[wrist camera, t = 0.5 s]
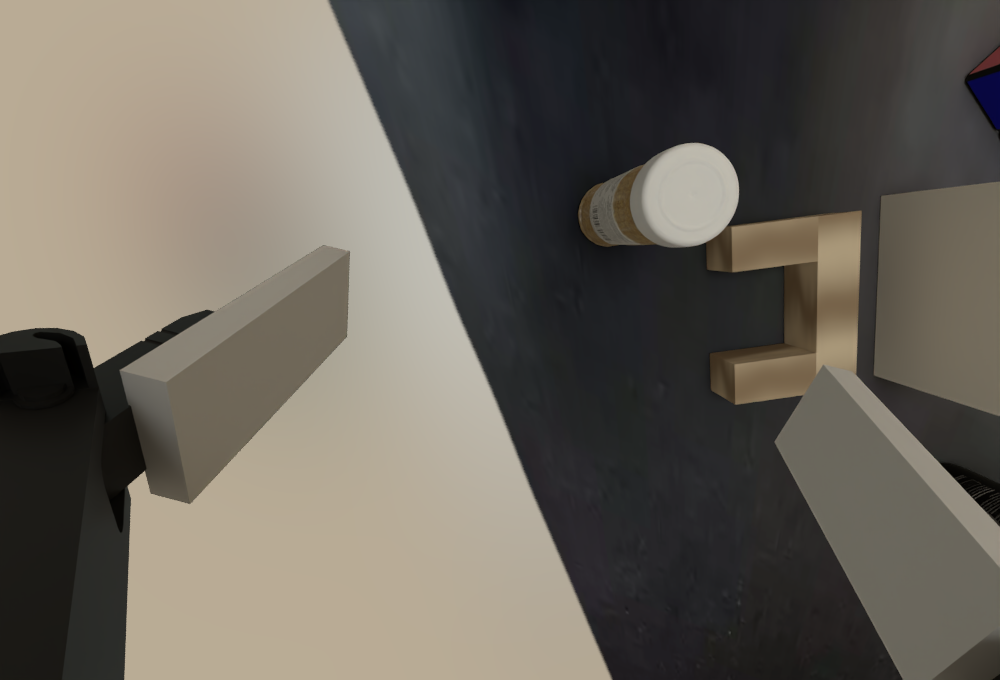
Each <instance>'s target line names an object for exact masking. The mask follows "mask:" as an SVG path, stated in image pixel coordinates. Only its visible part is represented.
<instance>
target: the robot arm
mask: <svg viewBox="0 0 1000 680" xmlns="http://www.w3.org/2000/svg"><path fill="white" fill-rule="evenodd" d="M349 257H350V252H349V251H345V250H342V249H338V248H333V247H329V246H325V245H323V246H321V247H319V248H318V249H316V250H315V251H313V252H311V253H310V254H308V255H306V256H305V257H303V258H302V259H300V260H298V261H297V262H295V263H294V264H292V265H290V266H289V267H287V268H285V269H284V270H282V271H281V272H279V273H277V274H275V275H274V276H272V277H271V278H269V279H267V280H266V281H264V282H262V283H261V284H259V285H258V286H256V287H254V288H253V289H251V290H249V291H248V292H246V293H245V294H243V295H241V296H240V297H238V298H236V299H235V300H233V301H232V302H230V303H228V304H227V305H225V306H223V307H222V308H220V309H219V310H217V311H215V312H214V311H210V310H205V311H202V312H199V313H195V314H192V315H188V316H185V317H182V318H180V319H178V320H176V321H175V322H173V323H171V324H169V325H168V326H166V327H164V328H163V329H162V331H161V332H159V331H157V332H156V333H154V334H152V335H150V336H149V337H147V338H145V341H140V342H138V343H137V344H135V345H133V346H131V347H130V348H128V349H126V350H124V351H123V352H121V353H119V354H117V355H116V356H115V357H112V358H111V359H109V360H107V361H106V362H104V363H102V364H100V365H98V366H97V367H95V368H93V365H92V361H91V358H90V354H89V351H88V348H87V344H86V341H85V338H84V336H82V335H80V334H77V333H76V332H74V331H70V330H65V329H59V328H35V329H28V330H21V331H15V332H11V333H7V334H3V335H0V680H124V670H125V641H126V614H127V588H128V587H127V586H128V561H129V532H130V506H131V498H130V494H129V491H128V487H127V486H128V485H129V484H130V483H131V482H132V481H133V480H134V479H136V478H137V477H138V476H139V475H140V474H142V473H143V472H144V471H145V472H146V477H147V481H148V484H149V488H150V492H151V494H155V495H158V496H162V497H166V498H170V499H174V500H178V501H181V502H185V503H189V504H190V503H191V502H192V501H193V500H194V499H195V498H196V497H197V496H198V495H199V494H200V493H201V492H202V491H203V489H204V488H205V487H206V486H207V485H208V484H209V483H210V482H211V481H212V480H213V479H214V478H215V477H216V476H217V475H218V474H219V473H220V471H221V470H222V469H223V468H224V467H225V466H226V465H227V464H228V463H229V462H230V461H231V459H233V457H234V456H235V455H236V454H237V453H238V452H239V451H240V450H241V449H242V448H243V447H244V446H245V445H246V444H247V443H248V442H249V441H250V439H251V438H252V437H253V436H254V435H255V434H256V433H257V432H258V431H259V430H260V429H261V428H262V427H263V426H264V424H265V423H266V422H267V421H268V420H269V419H270V418H271V417H272V416H273V415H274V414H275V413H276V412H277V411H278V409H279V408H280V407H281V406H282V405H283V404H284V403H285V402H286V401H287V400H288V399H289V398H290V397H291V396H292V395H293V394H294V393H295V391H296V390H297V389H298V388H299V387H300V386H301V385H302V384H303V383H304V382H305V381H306V380H307V379H308V378H309V376H310V375H311V374H312V373H313V372H314V371H315V370H316V369H317V368H318V367H319V366H320V365H321V364H322V363H323V361H325V359H326V358H327V357H328V356H329V355H330V354H331V353H332V352H333V351H334V350H335V349H336V348H337V346H338V345H340V343H341V342H342V341H343V340H344V339H345V338H346V337H347V319H348V288H349V259H350V258H349ZM775 444H776V446H777V448H778V449H779V451H780V453H781V455H782V457H783V459H784V461H785V462H786V464H787V466H788V468H789V470H790V472H791V473H792V475H793V477H794V479H795V481H796V483H797V485H798V486H799V488H800V490H801V492H802V494H803V496H804V497H805V499H806V501H807V503H808V505H809V507H810V509H811V510H812V512H813V514H814V516H815V518H816V520H817V521H818V523H819V525H820V527H821V529H822V531H823V533H824V534H825V536H826V538H827V540H828V542H829V544H830V545H831V547H832V549H833V551H834V553H835V555H836V557H837V558H838V560H839V562H840V564H841V566H842V568H843V569H844V571H845V573H846V575H847V577H848V579H849V581H850V582H851V584H852V586H853V588H854V590H855V592H856V594H857V595H858V597H859V599H860V601H861V603H862V605H863V606H864V608H865V610H866V612H867V614H868V616H869V618H870V619H871V621H872V623H873V625H874V627H875V629H876V630H877V632H878V634H879V636H880V638H881V640H882V642H883V643H884V645H885V647H886V649H887V651H888V653H889V654H890V656H891V658H892V660H893V662H894V664H895V666H896V667H897V669H898V671H899V673H900V675H901V677H902V678H903V680H1000V523H999V522H998V521H997V520H996V519H995V518H994V517H993V516H991V515H990V514H989V513H987V512H986V511H985V510H983V509H982V508H981V507H980V506H979V504H978V503H977V502H976V501H975V500H974V499H973V498H972V497H971V496H970V495H969V494H968V493H967V492H966V491H965V490H964V489H963V488H962V487H961V485H960V484H959V483H958V482H957V481H956V480H955V479H954V478H953V477H952V476H951V475H950V474H949V473H948V472H947V471H946V470H945V469H944V468H943V467H942V465H941V464H940V463H939V462H938V461H937V460H936V459H935V458H934V457H933V456H932V455H931V454H930V453H929V452H928V451H927V450H926V449H925V448H924V446H923V445H922V444H921V443H920V442H919V441H918V440H917V439H916V438H915V437H914V436H913V435H912V434H911V433H910V432H909V431H908V430H907V429H906V427H905V426H904V425H903V424H902V423H901V422H900V421H899V420H898V419H897V418H896V417H895V416H894V415H893V414H892V413H891V412H890V411H889V410H888V409H887V407H886V406H885V405H884V404H883V403H882V402H881V401H880V400H879V399H878V398H877V397H876V396H875V395H874V394H873V393H872V392H871V391H870V390H869V388H868V387H867V386H866V385H865V384H864V383H863V382H862V381H861V380H860V379H859V378H858V377H857V376H856V375H855V374H854V373H853V372H852V371H849V370H845V369H840V368H836V367H832V366H828V365H824V364H823V366H822V367H821V369H820V371H819V372H818V374H817V375H816V377H815V378H814V380H813V382H812V383H811V385H810V386H809V388H808V390H807V391H806V393H805V394H804V396H803V397H802V399H801V401H800V402H799V404H798V405H797V407H796V409H795V410H794V412H793V413H792V415H791V416H790V418H789V420H788V421H787V423H786V424H785V426H784V428H783V429H782V431H781V432H780V434H779V435H778V437H777V439H776V440H775Z"/></svg>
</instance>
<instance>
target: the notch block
mask: <svg viewBox="0 0 1000 680" xmlns="http://www.w3.org/2000/svg"><path fill="white" fill-rule="evenodd" d="M860 242H861V211H853V212H841V213H829V214H820V215H812V216H804V217H796V218H788V219H780V220H772V221H764V222H756V223H749V224H741V225H733V226H726V227H725V229H724V230H723V231H722V232H721V233H720V234H719V235H717V236H716V237H714V238H713V239H711V240H710V241H707V242H706V254H707V270H715V271H724V272H739V271H747V270H754V269H762V268H770V267H777V266H784V343H782V344H774V345H767V346H760V347H752V348H745V349H738V350H731V351H723V352H716V353H710V377H711V390H712V391H713V392H715V393H717V394H718V395H720V396H722V397H723V398H725V399H727V400H728V401H730V402H732V403H733V404H735V405H736V404H743V403H750V402H757V401H764V400H772V399H779V398H786V397H793V396H800V395H804V394H805V393H806V391H807V390H808V388H809V386H810V385H811V383H812V382H813V380H814V378H815V377H816V375H817V374H818V372H819V371H820V369H821V367H822V366H823V364H824V365H828V366H832V367H836V368H840V369H845V370H849V371H852V372H853V373H854V374H855V375H856V362H857V332H858V302H859V272H860Z"/></svg>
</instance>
